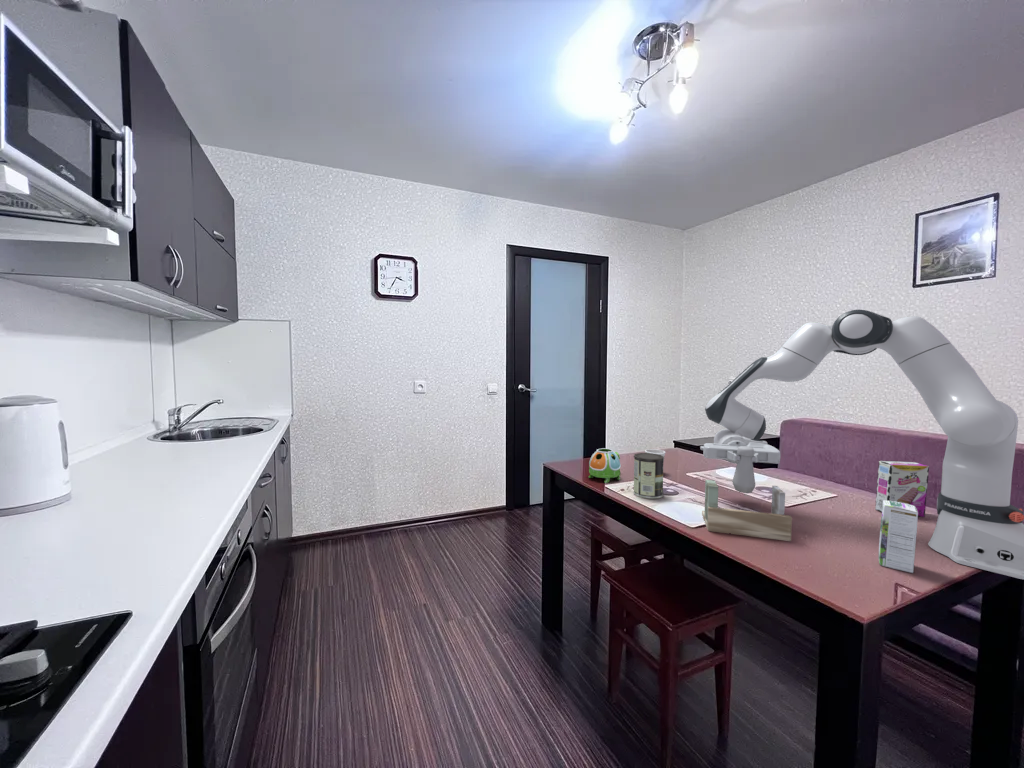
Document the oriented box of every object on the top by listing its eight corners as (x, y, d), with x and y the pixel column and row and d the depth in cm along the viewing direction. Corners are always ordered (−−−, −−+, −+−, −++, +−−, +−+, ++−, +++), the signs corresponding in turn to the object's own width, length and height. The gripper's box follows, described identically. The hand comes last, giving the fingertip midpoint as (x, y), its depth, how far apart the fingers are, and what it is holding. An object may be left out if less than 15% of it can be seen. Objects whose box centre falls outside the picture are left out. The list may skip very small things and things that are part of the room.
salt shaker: (729, 490, 113) (731, 447, 112) (734, 485, 117) (737, 443, 116) (752, 496, 109) (755, 451, 108) (757, 490, 113) (760, 446, 112)
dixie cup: (662, 471, 171) (663, 449, 171) (667, 477, 163) (667, 453, 163) (642, 470, 173) (643, 448, 172) (646, 476, 164) (646, 452, 164)
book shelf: (701, 515, 122) (703, 476, 121) (776, 523, 116) (777, 482, 115) (708, 530, 110) (709, 487, 110) (790, 541, 104) (792, 495, 104)
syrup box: (877, 556, 96) (880, 498, 95) (911, 564, 92) (915, 504, 92) (879, 565, 92) (882, 505, 91) (915, 574, 88) (919, 511, 87)
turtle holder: (631, 475, 165) (631, 448, 164) (609, 485, 152) (609, 455, 151) (605, 470, 174) (605, 443, 173) (582, 478, 161) (582, 450, 160)
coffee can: (655, 489, 147) (656, 452, 146) (668, 498, 137) (669, 459, 136) (629, 489, 147) (629, 452, 146) (639, 499, 136) (640, 459, 136)
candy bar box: (887, 516, 122) (890, 464, 121) (874, 510, 127) (877, 460, 126) (927, 517, 121) (930, 465, 120) (912, 511, 126) (915, 461, 125)
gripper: (699, 436, 127) (706, 445, 114) (771, 441, 121) (787, 450, 108) (698, 455, 128) (705, 466, 115) (771, 461, 121) (786, 473, 108)
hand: (745, 459), depth 111 cm, fingers closed on salt shaker, 3 cm apart
